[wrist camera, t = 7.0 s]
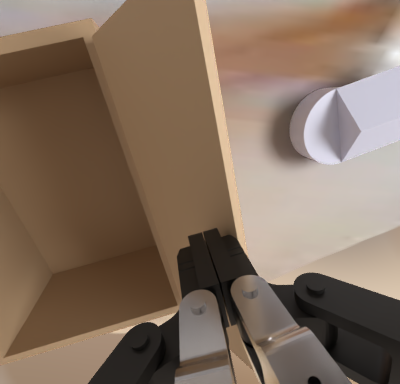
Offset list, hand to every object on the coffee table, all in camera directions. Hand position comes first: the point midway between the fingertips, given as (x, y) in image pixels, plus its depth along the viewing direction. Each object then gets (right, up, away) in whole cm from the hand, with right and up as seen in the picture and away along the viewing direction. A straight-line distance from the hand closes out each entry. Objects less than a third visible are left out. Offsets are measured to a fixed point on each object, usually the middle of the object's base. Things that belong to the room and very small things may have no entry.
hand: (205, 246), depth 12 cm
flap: (-1, +1, +3) cm, 3 cm away
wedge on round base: (+18, +12, +20) cm, 29 cm away
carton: (-15, +4, +17) cm, 23 cm away
